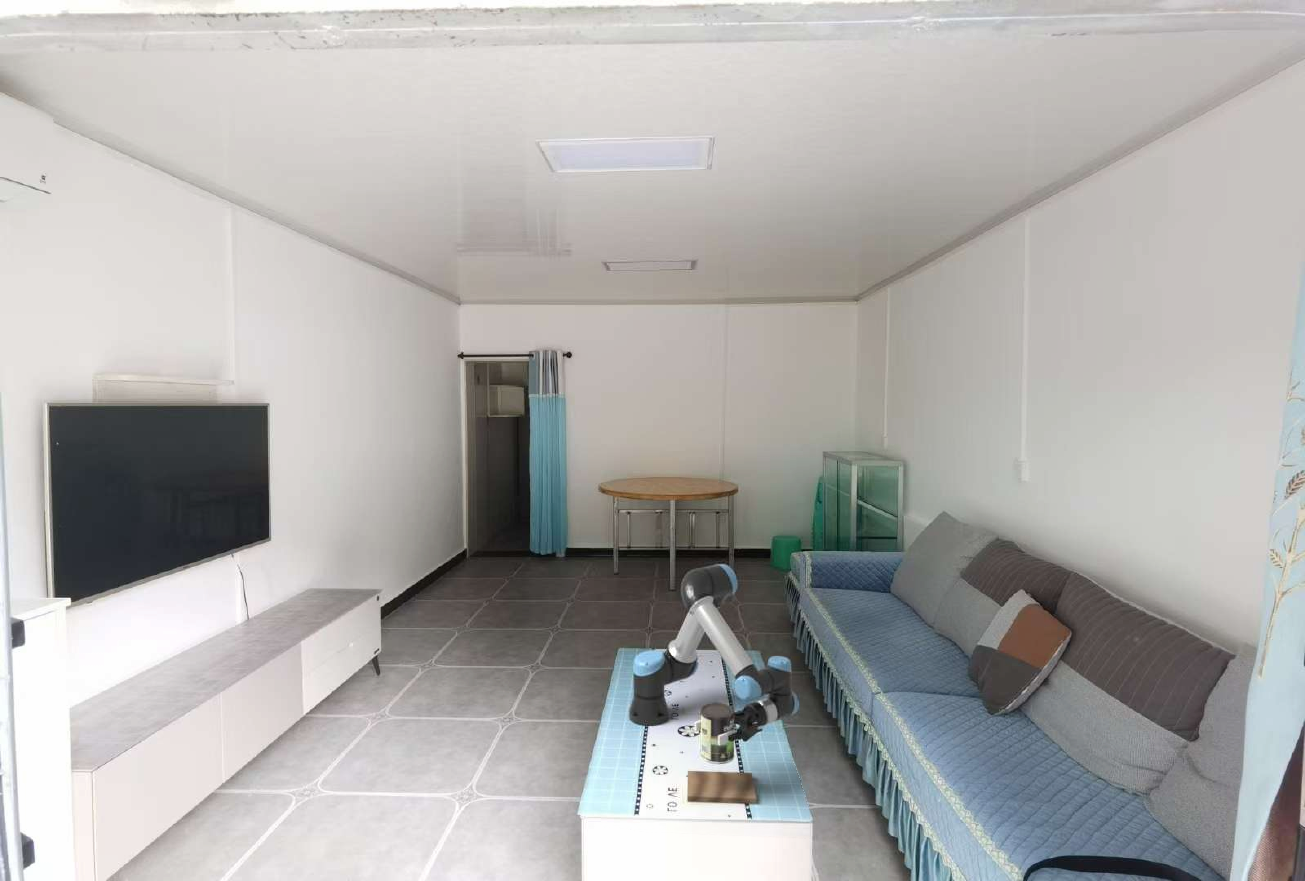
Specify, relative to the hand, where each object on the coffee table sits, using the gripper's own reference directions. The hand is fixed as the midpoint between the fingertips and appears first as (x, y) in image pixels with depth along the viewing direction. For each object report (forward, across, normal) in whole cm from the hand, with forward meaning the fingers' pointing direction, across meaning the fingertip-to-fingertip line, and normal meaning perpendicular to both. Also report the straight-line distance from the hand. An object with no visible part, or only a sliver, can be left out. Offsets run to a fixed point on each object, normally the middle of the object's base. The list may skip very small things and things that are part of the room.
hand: (706, 733), depth 194 cm
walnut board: (-4, -1, -18) cm, 18 cm away
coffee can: (-4, 0, -8) cm, 9 cm away
